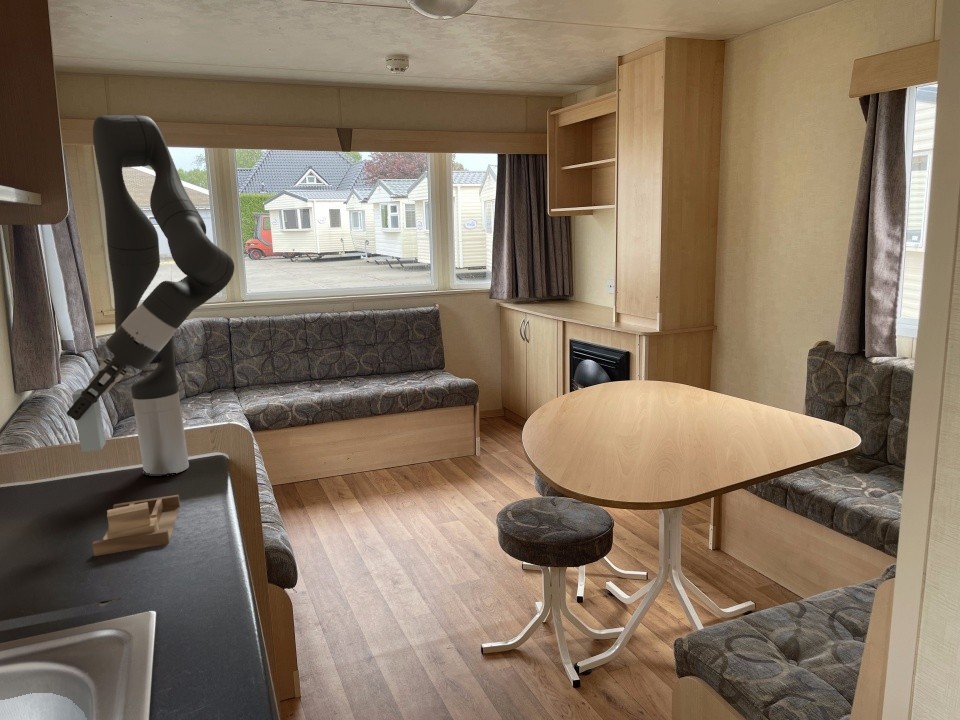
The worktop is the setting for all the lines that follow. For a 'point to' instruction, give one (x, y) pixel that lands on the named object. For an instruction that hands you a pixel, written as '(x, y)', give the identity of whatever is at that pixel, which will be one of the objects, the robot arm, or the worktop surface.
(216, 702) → the worktop surface
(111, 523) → the offcut top
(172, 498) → the rack
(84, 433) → the block
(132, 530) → the offcut low
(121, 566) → the worktop surface
